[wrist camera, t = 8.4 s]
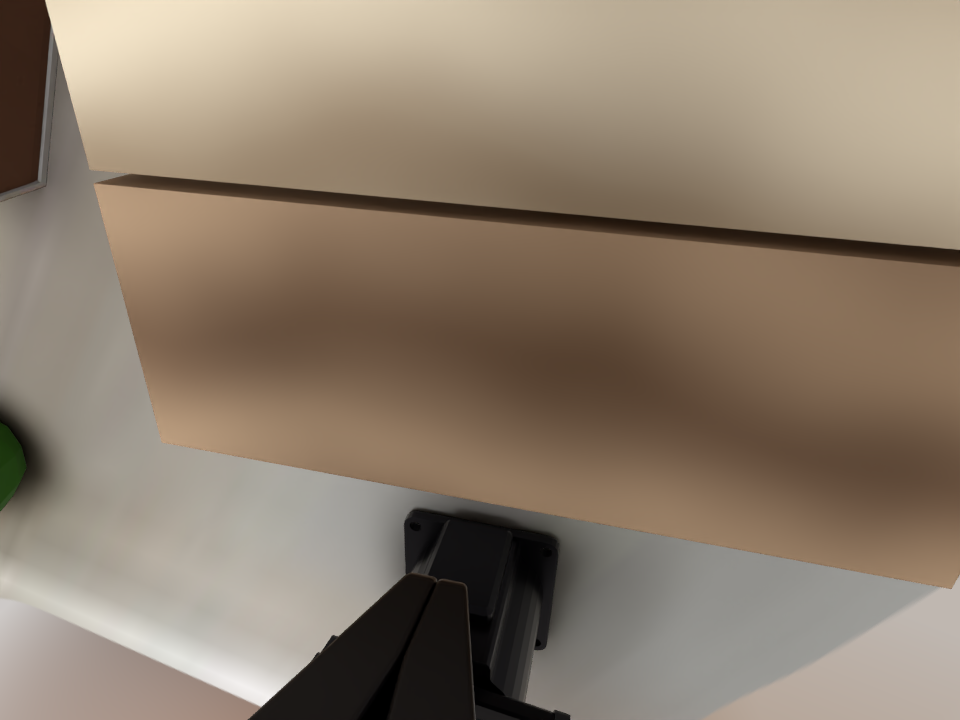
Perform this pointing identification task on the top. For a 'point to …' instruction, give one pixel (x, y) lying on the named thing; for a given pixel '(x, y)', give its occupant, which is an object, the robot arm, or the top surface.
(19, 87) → the food container
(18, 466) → the bell pepper
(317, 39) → the pale plank
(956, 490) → the floor platform
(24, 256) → the top surface
